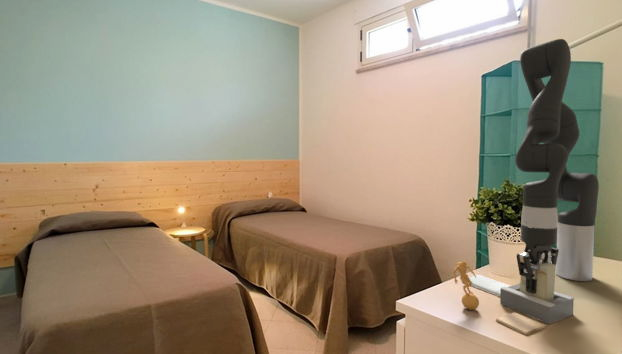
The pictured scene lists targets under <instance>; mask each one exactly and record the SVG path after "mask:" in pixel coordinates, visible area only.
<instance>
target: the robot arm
mask: <svg viewBox="0 0 622 354" xmlns="http://www.w3.org/2000/svg"><path fill="white" fill-rule="evenodd" d="M571 56H572V55H571V49H570V46H569V44H568V42H567V41H566V39H564V38H557V39H552V40H550V41H546V42H543V43H541V44H537V45H534V46H531V47H528V48H526V49H523V51H521V53H520V57H519V59H520V60H519V62H520V67H521V71H522V72H521V73H522V74H523V77H524V80H525V83H526V86H527V90H528V92H529V94H530V97H531V100H532V103H531V105H530V106H529V108H528V112H527V121H526V131H525V135H524V137H523V139H522V142H521V143H520V145H519V147H518V150H517V152H516V155H515V164H516V167H517V168H518V170H520V171H521V172H523V173H548V175H547V177H546V178H545V179H542V180H538V181H537V180H536V181H531V182H527V183H525V184H524V185H523V191H522V192H523V193H522V195H523V196H522V209H521V215H520V217H521V218H520V219H521V221H520V224H521V225H520V240H521V242H523V243H524V244H525V247H524V252H523V253H516V261H517V267H518V274H519V276H520V277H521V276H525V277H526V291H527V292H529V293H532V294H535V293H536V287H537V279H536V278H537V273H538V271H539V270H540V266H541V265H542V263H548V264H549V263H551V264H555V265H556V270H555V275H557V276H558V277H561V278H564V279H567V280H570V281H576V282H577V281H579V282H591V281H592V280H593V273H594V272H593V270H594V249H595V248H594V247H595V223H596V221H595V220H596V216H597V209H598V208H597V205H598V198H599V186H600V185H599V179H598V176H597V175H595V174H594V173H590V172H589V173H586V172H569V171H568V170H567V163H568V160H569V156H570V154H571V152H572V151H573V149H574V147H576V144H577V143H578V141H579V138H580V129H579V124H578V120H577V116H576V113H575V112H574V110H572V108H570V107H569V106H568V105H567V104H566V103H564V101H563V98H564V94H565V90H566V87H567V82H568V78H569V74H570V68H571V64H572V63H571V61H572V58H571ZM547 77H550V78H549V80H548V81H547V83H546V84H544V83H545V82H544V81H543V78H544V79H545V78H547ZM558 200H559V201H563V202H571V203H578V206H577V207H576V208H575V209H572V210H568V211H562V212H559V213H558ZM555 245H556V248H555V247H552V246H555ZM530 263H532V264H535V265H536V266H531V264H530ZM524 269H525V271H524ZM531 269H533V274H532V270H531Z"/></svg>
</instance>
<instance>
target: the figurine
mask: <svg viewBox="0 0 622 354" xmlns="http://www.w3.org/2000/svg"><path fill="white" fill-rule="evenodd" d="M467 270H469V271H470V273H472V274H473V276H475V275H476V274H475V272H474V271H473V270H472V269H471V268H470V266H469V265H467V262H466V261H464V260H463V261H462V262H461V261H458V262H456V264H455V268H454V269H453V271H452V272H453V273H452V274H453V278H454V284H456V285H458V280H457V273H456V272H457V271H458V273H459V274H460V276H459V279H460V281H461V283H462V282H463V286H462V289H463V292H464V293H465V294H463V296H462V298H461V303H462V305H463V306H464V308H465V309H467V310H470V311H472V310H476V309H477V308H478V307H479V305H480V301H479V298H478V297H477V296H476V295H475V294H474V293H473V292H472V291H471V289H470V287H472V286H471V285H472V281H471V280H470V279H469V277H470V276H469V275H468V274H467ZM475 277H476V276H475ZM467 282H468V283H469V284H468V283H467Z"/></svg>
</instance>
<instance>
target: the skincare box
mask: <svg viewBox="0 0 622 354" xmlns="http://www.w3.org/2000/svg"><path fill="white" fill-rule="evenodd" d="M530 264H531V266H536V265H535V264H532V263H530ZM531 270H532V274H533V269H531ZM524 271H525V269H524ZM536 279H537V287H536V293H535V294H532V293H529V292H527V291H526V277H525V276H521V275H520V282H519V284H520V292H522V293H525V294H528V295H531V296H533V297H536V298H539V299H542V300H544V301H547V302H548V301H551V300H553V299H554V291H555V281H556V265H555V264H552V262H551V263H549V264H548V263H542V265H541V266H540V270H539V271H538V273H537V278H536Z"/></svg>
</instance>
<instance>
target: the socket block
mask: <svg viewBox="0 0 622 354" xmlns="http://www.w3.org/2000/svg"><path fill="white" fill-rule="evenodd" d="M499 299H500V303H499V304H500V305H502V306H504V307H507V308H510V309H513V310H514V311H517V312H519V313H521V314H523V315H526V316H529V317H531V318H534V319H537V320H538V321H541V322H544V323H545V324H547V325H550V324H553V323H555V322H557V321H558V322H559V321H560V320H561V321H562V320H563V319H565V318H567V317H571V316H573V315H574V304H575V303H574V301H575V300H574V299H575V298H574V297H573V296H570V295H567V294H564V293H561V292H558V291H555V290H554V299H553V300H551V301H548V302H547V301H544V300H542V299H539V298H536V297H533V296H531V295H528V294H525V293H522V292H520V283H517V284H514V285H513V284H512V285H510V286H509V287H502V288H501V294H500V297H499Z"/></svg>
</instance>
